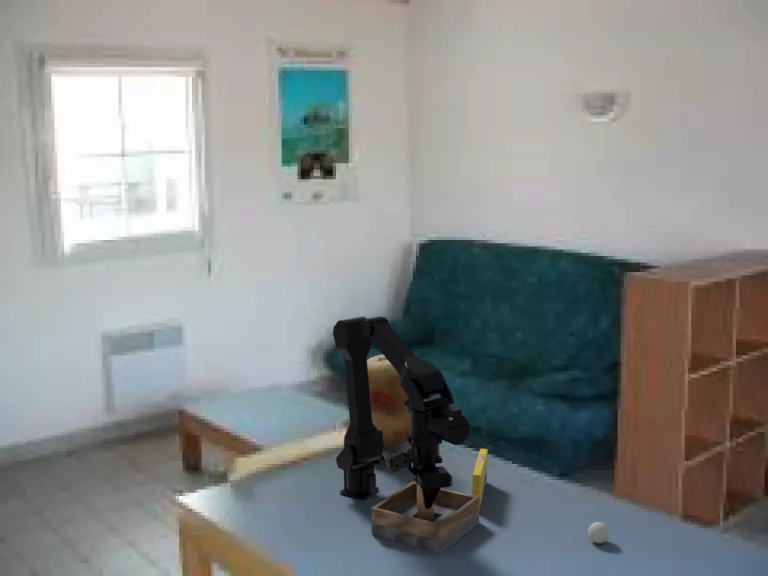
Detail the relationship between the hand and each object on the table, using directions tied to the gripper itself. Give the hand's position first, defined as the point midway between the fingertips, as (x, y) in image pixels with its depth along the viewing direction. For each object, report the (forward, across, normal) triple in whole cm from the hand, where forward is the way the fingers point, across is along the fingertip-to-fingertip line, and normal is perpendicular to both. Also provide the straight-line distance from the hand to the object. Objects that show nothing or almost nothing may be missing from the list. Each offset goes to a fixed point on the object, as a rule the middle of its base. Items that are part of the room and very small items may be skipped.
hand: (425, 504), depth 185 cm
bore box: (+5, 0, 0) cm, 5 cm away
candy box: (+5, -13, +16) cm, 21 cm away
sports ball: (+5, +14, +31) cm, 35 cm away
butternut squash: (+5, -43, +1) cm, 43 cm away
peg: (+3, 0, 0) cm, 3 cm away
